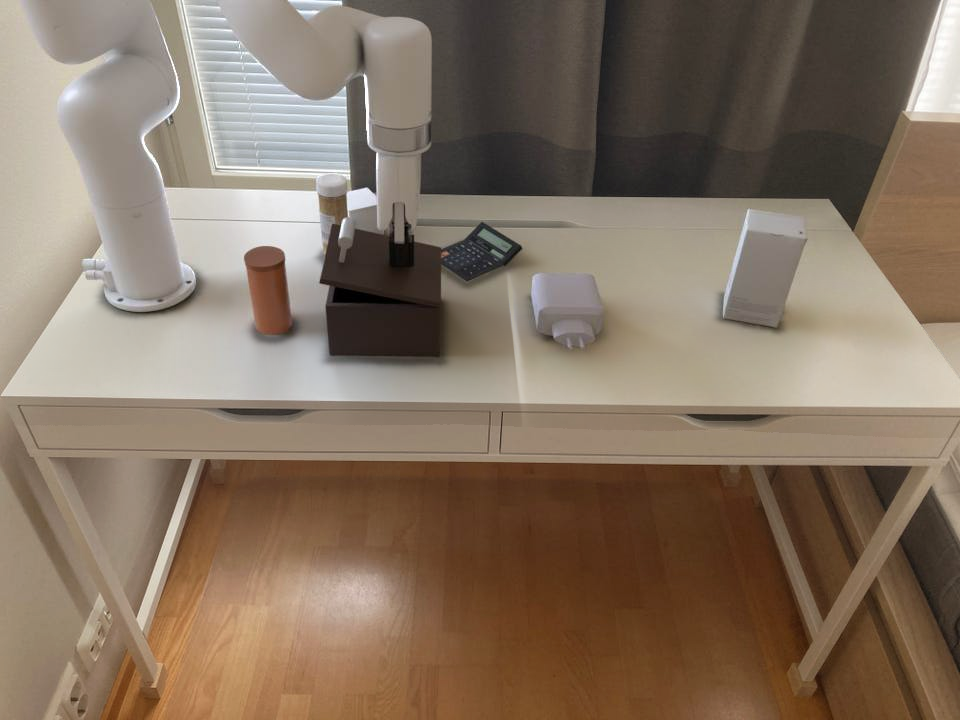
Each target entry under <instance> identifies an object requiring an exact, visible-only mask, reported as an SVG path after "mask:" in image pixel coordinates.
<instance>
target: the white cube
mask: <svg viewBox="0 0 960 720" xmlns="http://www.w3.org/2000/svg"><path fill="white" fill-rule="evenodd" d="M346 196H347V210H348V217H350V218H352V219H354V221H355V223H356V225H355V229H360V230H364V231H369V232H373V233H378V234H382V235H385V230H382V231H380V230H378V228H377V195H375V193H373V192H372V191H371V190H370V189H369V187H364V188H358V189H354V190H349V191H347V194H346Z"/></svg>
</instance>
